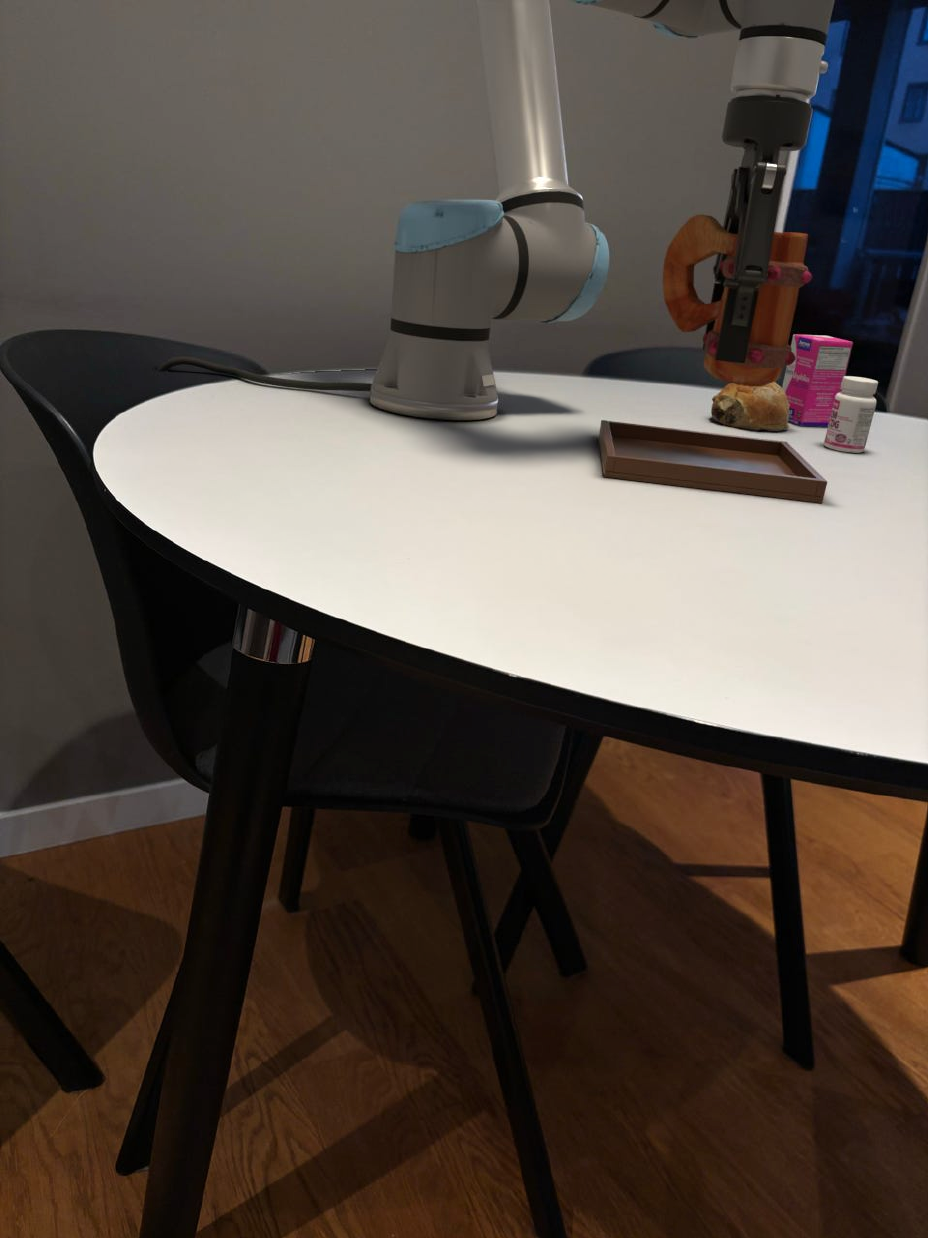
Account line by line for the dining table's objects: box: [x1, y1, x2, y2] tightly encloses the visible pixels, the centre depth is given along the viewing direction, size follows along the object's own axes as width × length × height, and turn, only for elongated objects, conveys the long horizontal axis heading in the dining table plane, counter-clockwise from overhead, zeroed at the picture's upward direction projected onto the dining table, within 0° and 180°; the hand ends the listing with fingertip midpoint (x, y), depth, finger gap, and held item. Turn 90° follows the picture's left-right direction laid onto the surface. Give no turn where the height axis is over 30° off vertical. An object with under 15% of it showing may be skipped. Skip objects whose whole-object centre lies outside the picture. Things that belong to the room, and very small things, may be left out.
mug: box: [662, 214, 813, 387], centre depth 96 cm, size 15×8×15 cm, turn 55°
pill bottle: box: [823, 375, 879, 454], centre depth 118 cm, size 5×5×8 cm
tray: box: [598, 419, 828, 504], centre depth 101 cm, size 21×19×2 cm
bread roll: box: [710, 382, 790, 432], centre depth 128 cm, size 10×10×8 cm
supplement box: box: [781, 333, 854, 428], centre depth 133 cm, size 6×6×12 cm
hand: (722, 355), depth 97 cm, fingers closed on mug, 8 cm apart
